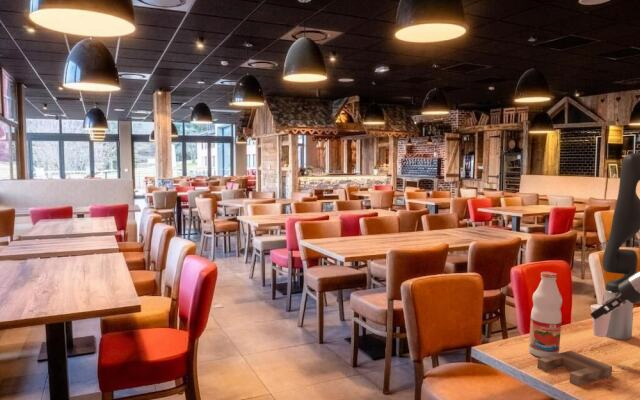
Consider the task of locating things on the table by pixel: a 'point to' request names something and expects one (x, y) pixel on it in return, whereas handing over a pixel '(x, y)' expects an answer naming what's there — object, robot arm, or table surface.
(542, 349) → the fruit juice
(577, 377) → the notched board
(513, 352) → the table surface
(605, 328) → the smoothie
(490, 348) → the table surface
